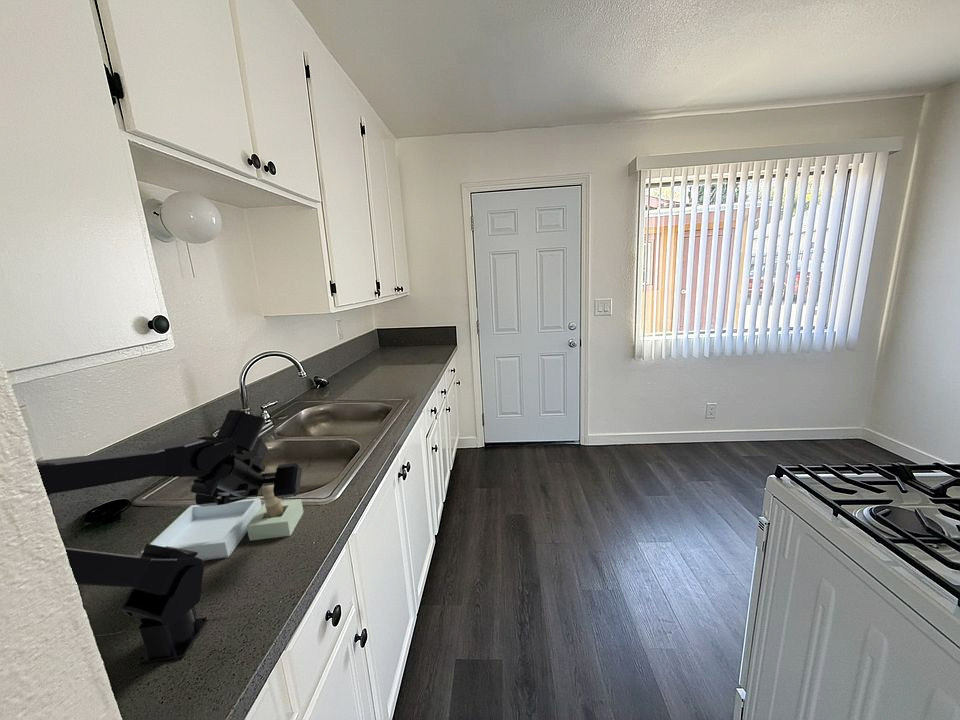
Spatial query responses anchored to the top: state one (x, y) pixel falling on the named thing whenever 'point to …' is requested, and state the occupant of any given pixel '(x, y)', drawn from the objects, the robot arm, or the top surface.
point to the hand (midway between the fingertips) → (268, 493)
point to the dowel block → (275, 521)
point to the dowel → (272, 502)
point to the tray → (210, 528)
